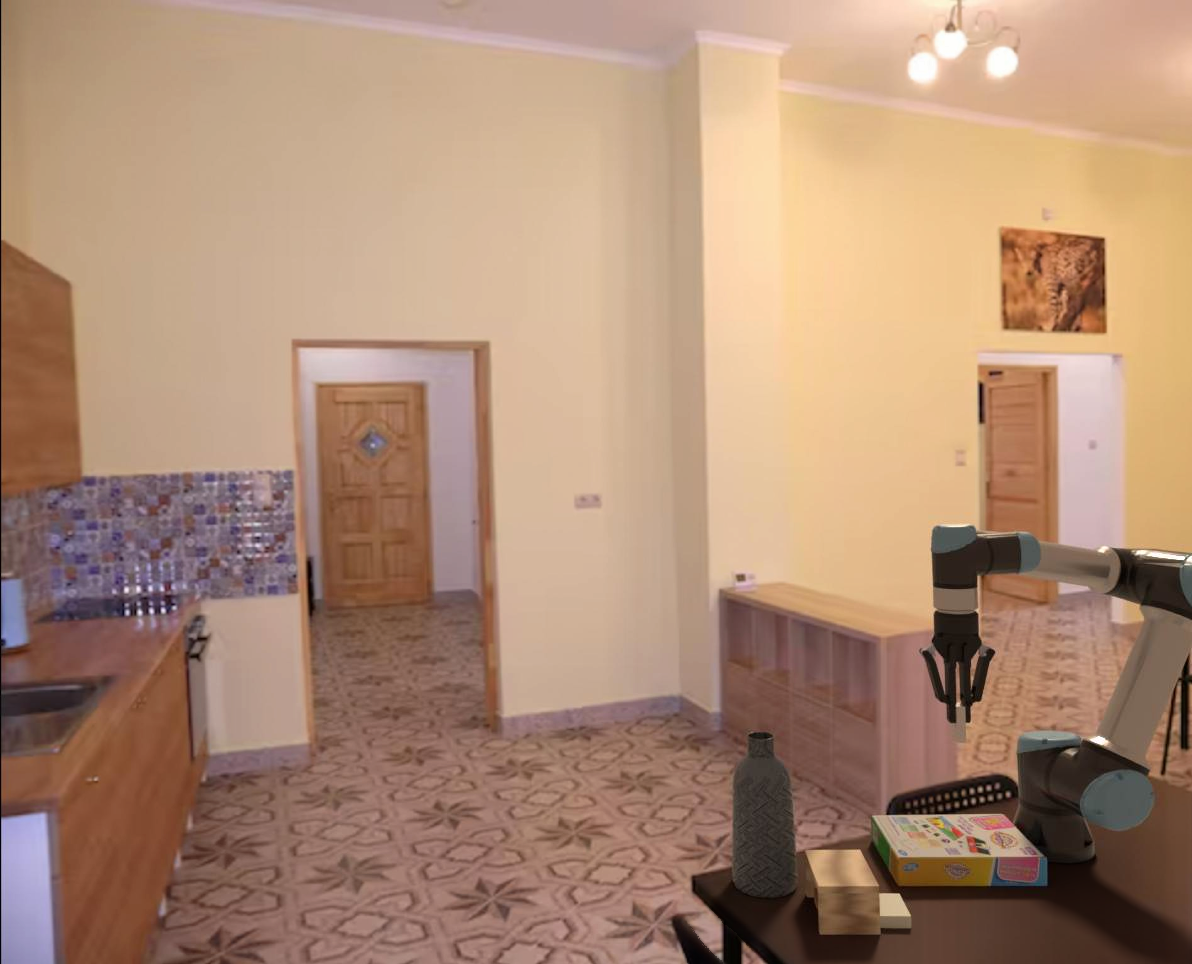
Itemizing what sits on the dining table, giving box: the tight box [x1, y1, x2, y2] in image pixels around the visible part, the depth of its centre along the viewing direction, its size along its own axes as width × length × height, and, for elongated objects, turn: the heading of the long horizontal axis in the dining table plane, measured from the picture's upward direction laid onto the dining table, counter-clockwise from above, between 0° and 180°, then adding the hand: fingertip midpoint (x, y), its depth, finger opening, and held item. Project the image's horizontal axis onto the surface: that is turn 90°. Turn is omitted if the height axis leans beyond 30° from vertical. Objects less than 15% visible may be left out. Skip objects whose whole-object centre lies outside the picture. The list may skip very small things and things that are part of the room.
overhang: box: [804, 849, 882, 936], centre depth 156 cm, size 10×14×8 cm
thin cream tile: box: [879, 892, 912, 929], centre depth 155 cm, size 12×8×2 cm, turn 85°
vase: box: [731, 731, 799, 899], centre depth 168 cm, size 12×12×28 cm
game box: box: [870, 813, 1048, 887], centre depth 174 cm, size 21×6×27 cm
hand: (959, 740), depth 160 cm, fingers closed
